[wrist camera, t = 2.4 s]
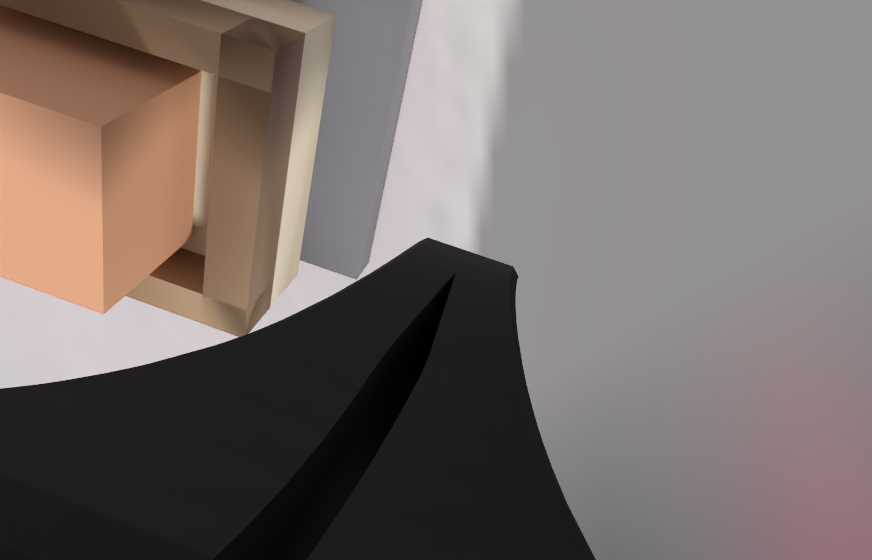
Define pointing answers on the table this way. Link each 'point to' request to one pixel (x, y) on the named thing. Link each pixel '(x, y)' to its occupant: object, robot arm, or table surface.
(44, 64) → the block
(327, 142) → the balance beam
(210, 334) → the table surface
